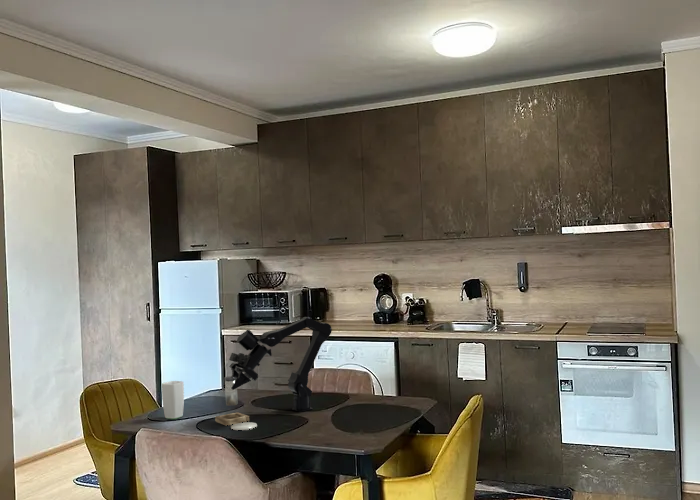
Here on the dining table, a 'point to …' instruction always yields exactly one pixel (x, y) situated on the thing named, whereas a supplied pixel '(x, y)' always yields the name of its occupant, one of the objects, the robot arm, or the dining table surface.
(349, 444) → the dining table surface
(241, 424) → the disc
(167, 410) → the cup
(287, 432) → the dining table surface
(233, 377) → the glass jar
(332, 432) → the dining table surface
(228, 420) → the oak collar
